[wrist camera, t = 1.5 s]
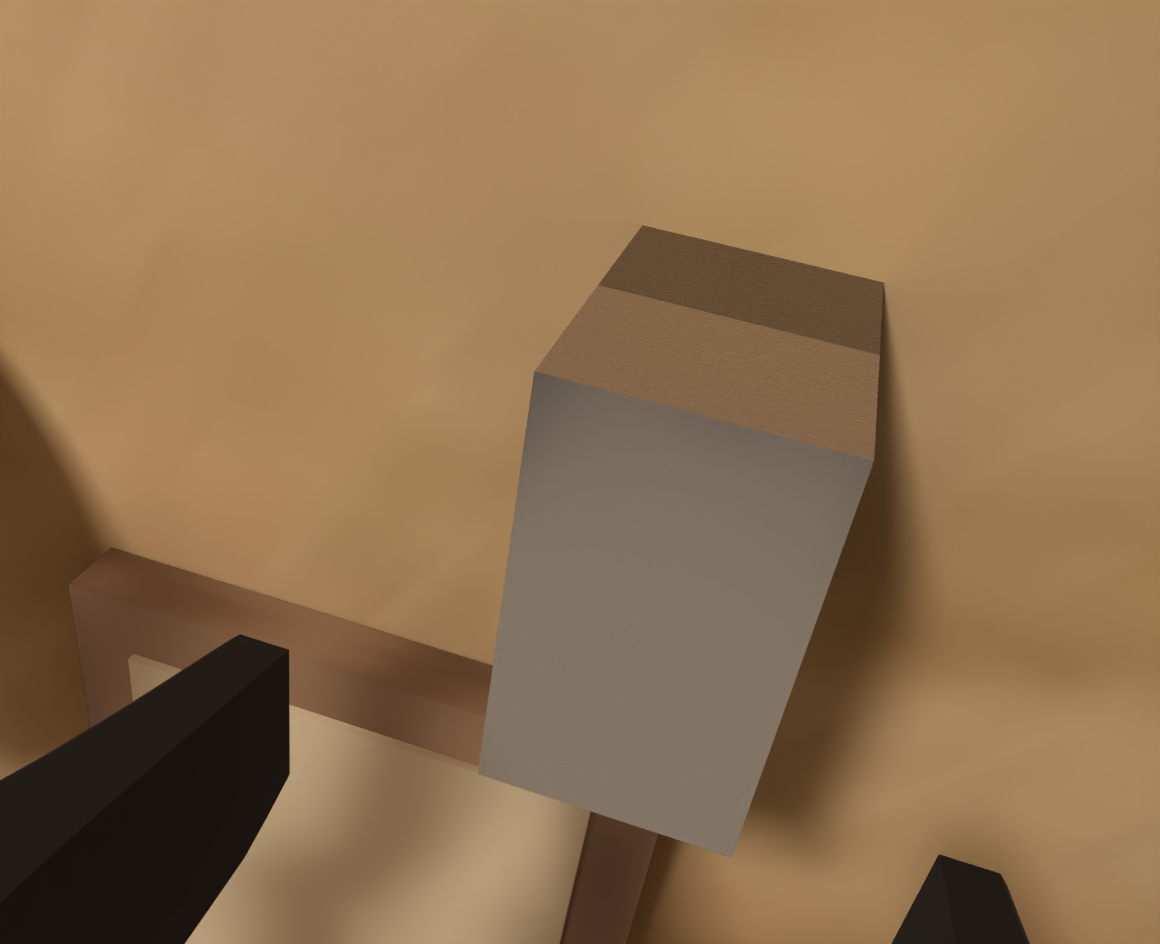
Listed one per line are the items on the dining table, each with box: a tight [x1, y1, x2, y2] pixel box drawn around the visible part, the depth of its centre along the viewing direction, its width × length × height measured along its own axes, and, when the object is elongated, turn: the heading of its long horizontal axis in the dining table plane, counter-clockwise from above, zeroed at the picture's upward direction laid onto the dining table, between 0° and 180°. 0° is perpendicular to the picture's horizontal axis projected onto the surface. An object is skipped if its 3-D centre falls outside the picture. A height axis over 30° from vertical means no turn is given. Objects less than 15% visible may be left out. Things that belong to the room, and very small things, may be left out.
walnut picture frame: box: [68, 548, 658, 944], centre depth 26 cm, size 14×14×2 cm
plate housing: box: [478, 225, 884, 857], centre depth 16 cm, size 4×7×6 cm, turn 171°
